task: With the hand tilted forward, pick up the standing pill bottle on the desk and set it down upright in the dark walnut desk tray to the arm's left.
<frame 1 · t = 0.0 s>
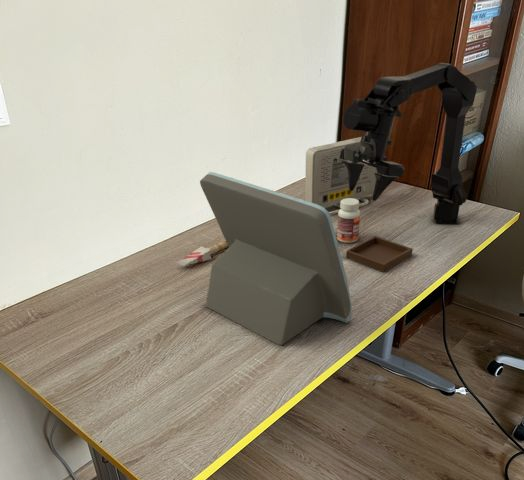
hand: (362, 195, 146), 15 cm above the table, tool pointing down, fingers open, 9 cm apart
paintbrush: (207, 257, 155), on the table
walnut tray: (378, 257, 151), on the table
pill bottle: (347, 239, 161), on the table
network device: (341, 206, 182), on the table
touchscreen device: (270, 309, 131), on the table
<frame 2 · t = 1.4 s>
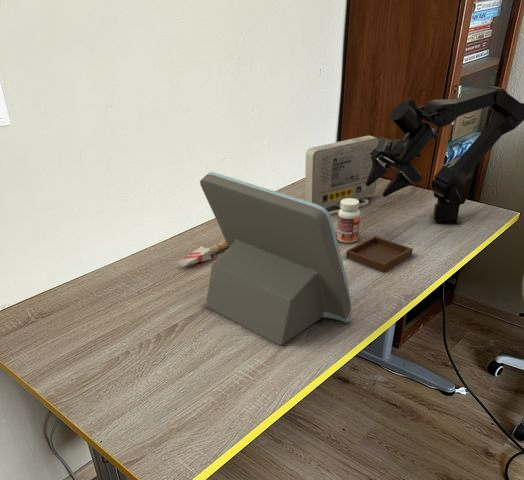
hand: (374, 190, 155), 13 cm above the table, tool tilted 45°, fingers open, 9 cm apart
nothing on the table moved.
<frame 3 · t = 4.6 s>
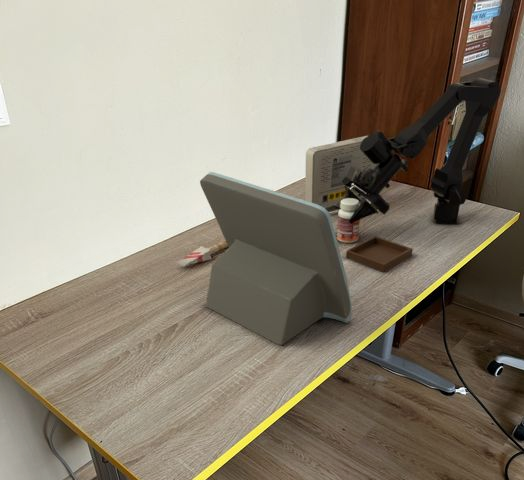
hand: (344, 218, 157), 7 cm above the table, tool tilted 45°, fingers closed on pill bottle, 6 cm apart
pill bottle: (347, 239, 161), on the table, touching gripper
everything else where it was.
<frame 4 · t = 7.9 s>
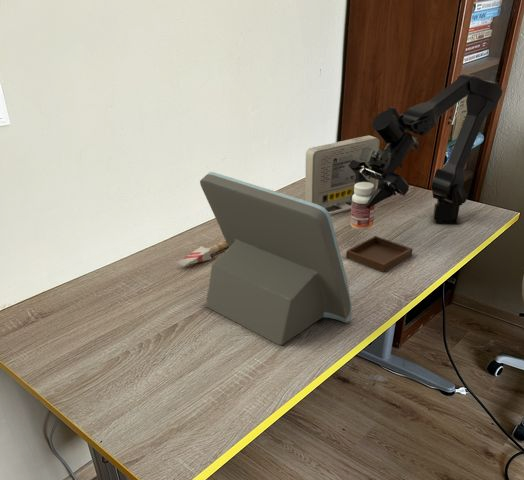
hand: (359, 203, 148), 13 cm above the table, tool tilted 45°, fingers closed on pill bottle, 6 cm apart
pill bottle: (361, 226, 152), point 6 cm above the table, touching gripper
everything else where it was.
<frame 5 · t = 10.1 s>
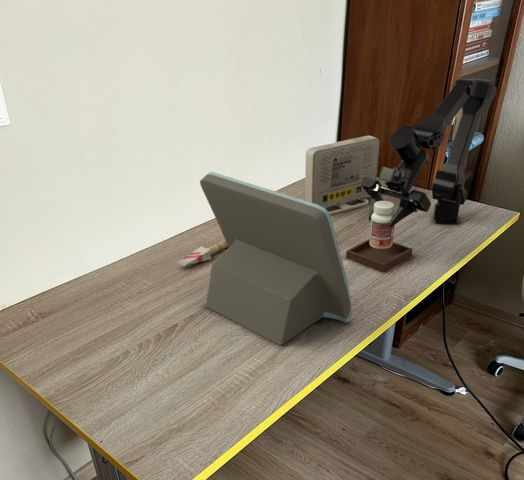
hand: (379, 223, 145), 10 cm above the table, tool tilted 45°, fingers closed on pill bottle, 6 cm apart
pill bottle: (380, 245, 149), point 3 cm above the table, touching gripper
everything else where it was.
when the fingers open (7 cm above the table, at t = 11.5 s): pill bottle stays where it is, resting on walnut tray.
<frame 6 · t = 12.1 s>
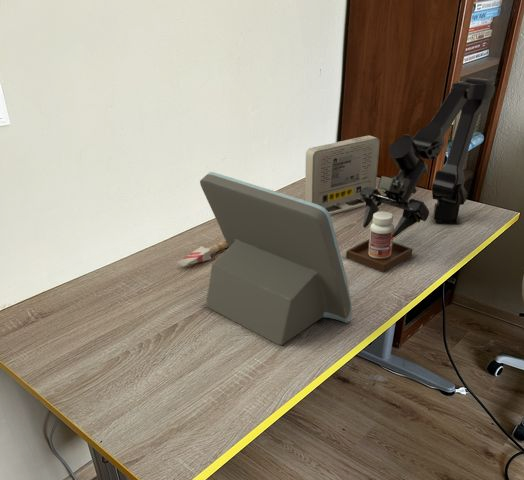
hand: (378, 231, 146), 8 cm above the table, tool tilted 45°, fingers open, 9 cm apart
pill bottle: (379, 255, 151), resting on walnut tray
everything else where it was.
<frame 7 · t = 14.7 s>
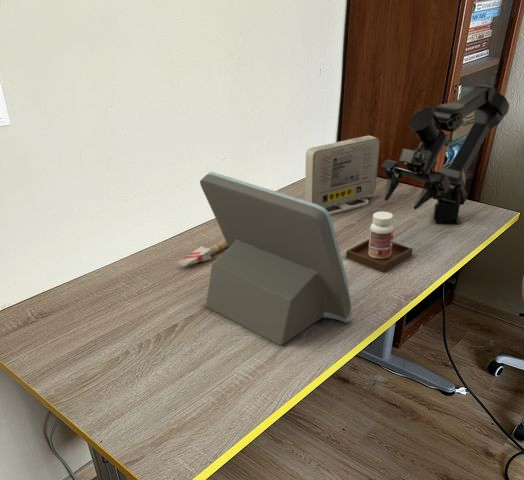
hand: (399, 204, 148), 13 cm above the table, tool tilted 45°, fingers open, 9 cm apart
nothing on the table moved.
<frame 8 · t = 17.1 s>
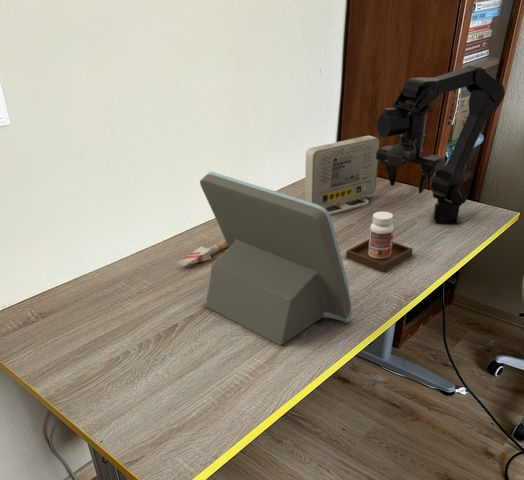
hand: (406, 189, 156), 13 cm above the table, tool pointing down, fingers open, 9 cm apart
nothing on the table moved.
at the end: pill bottle inside the target area in the walnut tray (0.1 cm from its centre), point 0.4 cm above the walnut tray's base; pill bottle tilted 0°; the gripper is holding nothing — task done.
